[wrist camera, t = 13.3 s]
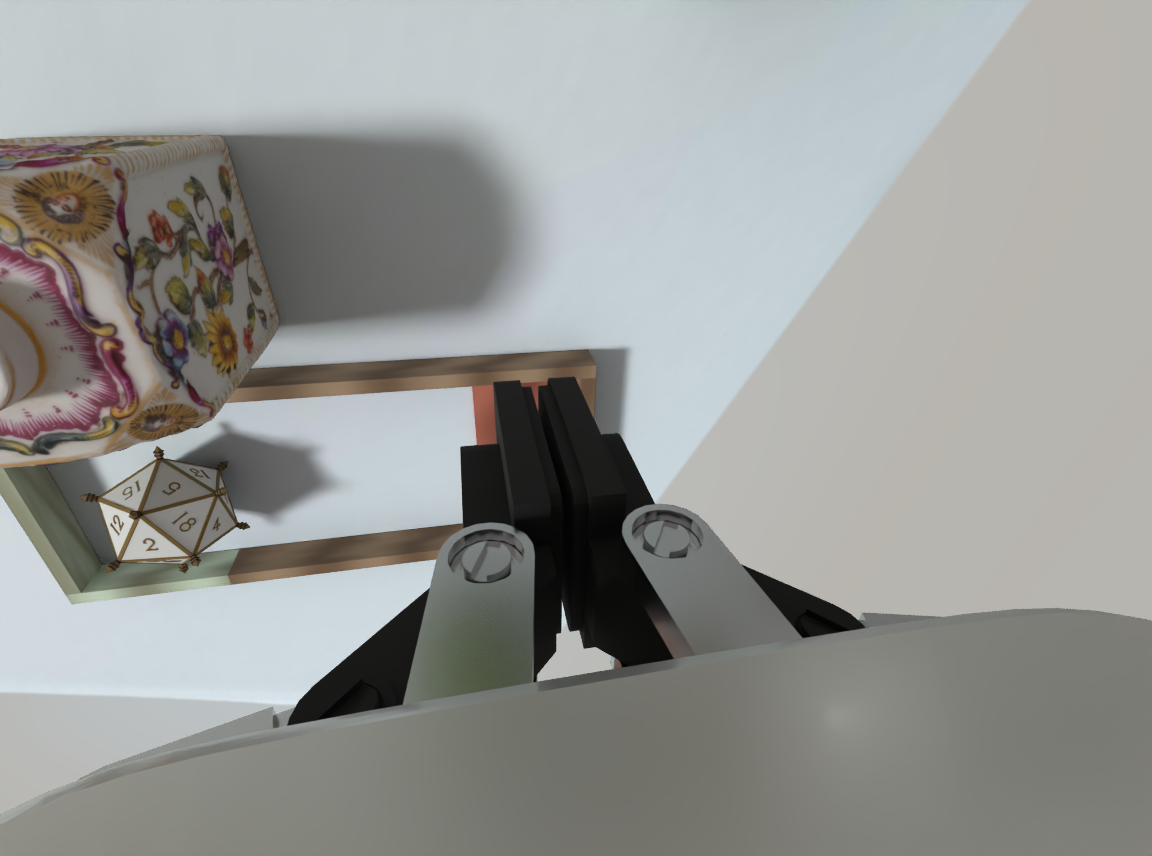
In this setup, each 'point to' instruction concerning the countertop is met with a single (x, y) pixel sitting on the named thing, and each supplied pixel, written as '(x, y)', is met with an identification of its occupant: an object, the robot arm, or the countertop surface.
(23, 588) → the countertop surface
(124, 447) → the decorative jar
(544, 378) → the rectangular wooden frame
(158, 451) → the game die
